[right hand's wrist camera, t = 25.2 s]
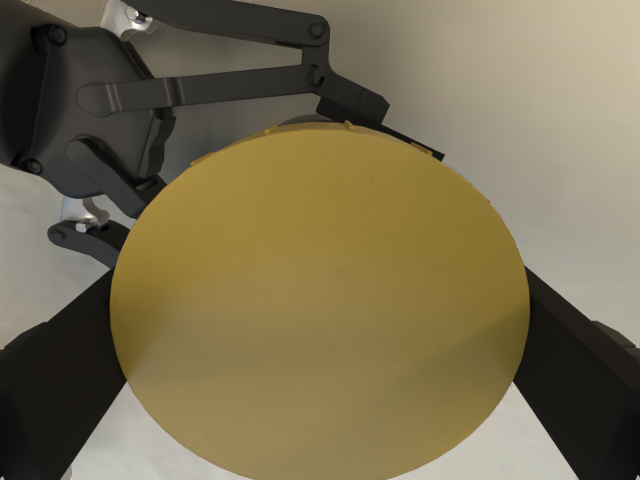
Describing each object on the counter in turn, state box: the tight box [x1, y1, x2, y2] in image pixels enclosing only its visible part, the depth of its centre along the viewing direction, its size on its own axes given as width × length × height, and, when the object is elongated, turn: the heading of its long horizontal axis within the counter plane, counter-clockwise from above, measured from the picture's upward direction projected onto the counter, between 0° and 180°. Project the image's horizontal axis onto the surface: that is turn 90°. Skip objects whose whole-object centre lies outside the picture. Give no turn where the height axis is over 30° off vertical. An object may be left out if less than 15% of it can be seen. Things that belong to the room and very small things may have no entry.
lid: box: [109, 121, 530, 480], centre depth 11 cm, size 11×11×2 cm
